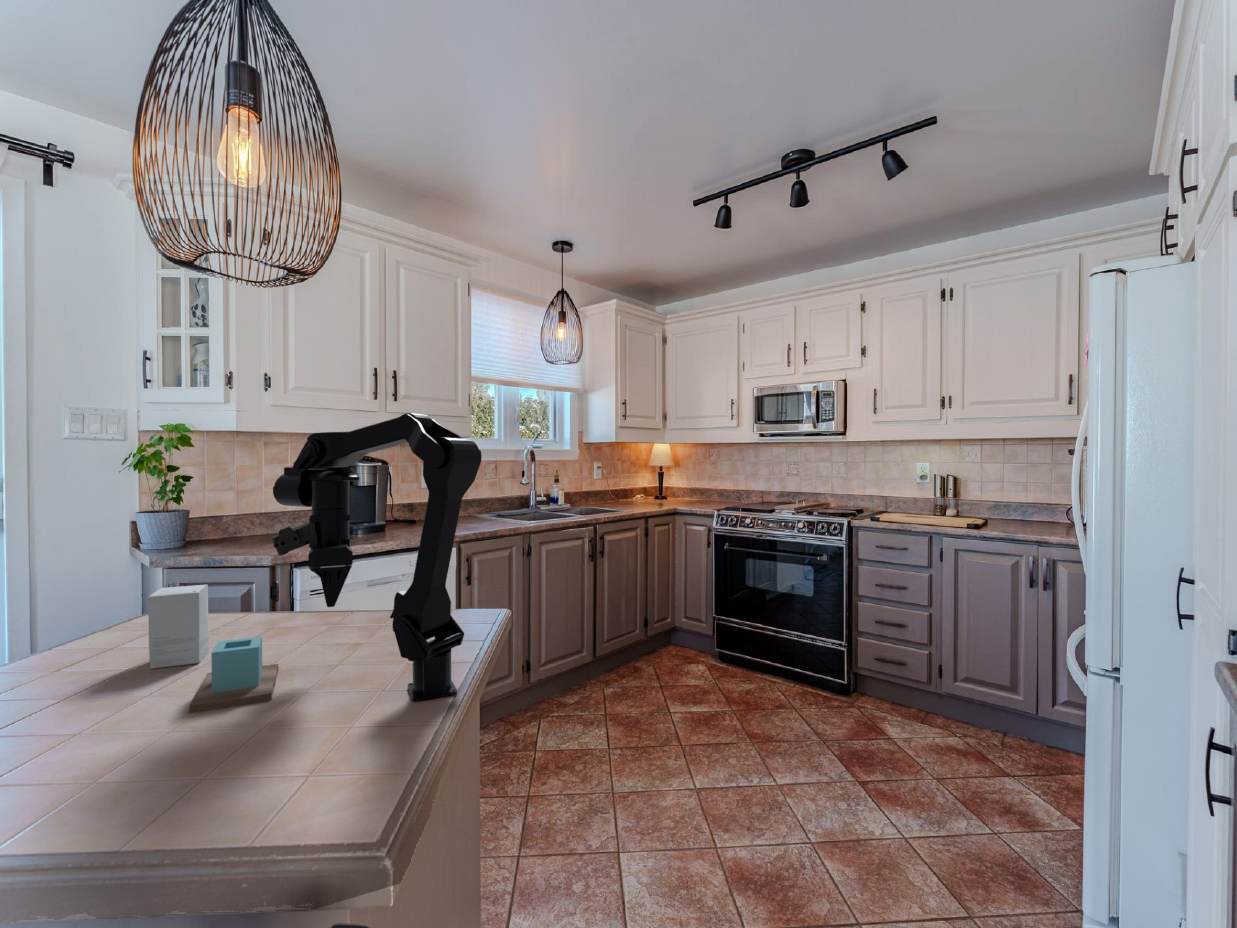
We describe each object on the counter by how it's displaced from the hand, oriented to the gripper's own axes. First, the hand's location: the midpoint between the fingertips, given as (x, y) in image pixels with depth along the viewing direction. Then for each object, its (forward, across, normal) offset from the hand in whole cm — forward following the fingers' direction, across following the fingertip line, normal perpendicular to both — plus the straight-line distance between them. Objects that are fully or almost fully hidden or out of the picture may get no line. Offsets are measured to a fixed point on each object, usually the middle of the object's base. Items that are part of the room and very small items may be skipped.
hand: (330, 600), depth 99 cm
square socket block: (+11, +2, -13) cm, 17 cm away
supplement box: (+12, -18, -24) cm, 32 cm away
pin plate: (+12, +2, -13) cm, 18 cm away
